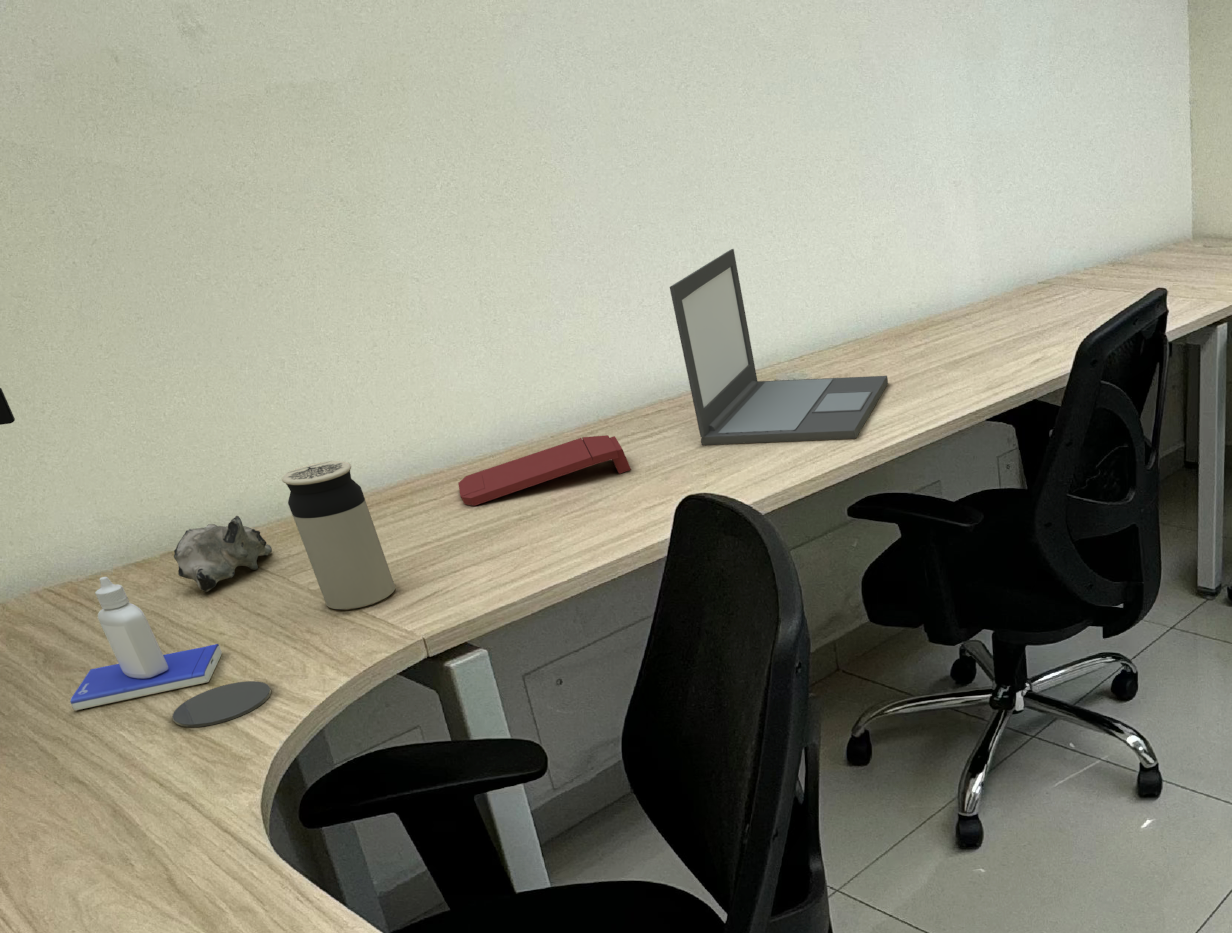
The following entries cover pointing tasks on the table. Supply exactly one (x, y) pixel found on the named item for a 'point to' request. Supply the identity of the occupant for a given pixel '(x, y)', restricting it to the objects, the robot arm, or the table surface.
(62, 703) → the table surface
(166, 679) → the hard drive
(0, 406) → the robot arm
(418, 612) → the table surface
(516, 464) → the red hooked bar
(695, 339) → the laptop
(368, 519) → the travel mug
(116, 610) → the eye dropper bottle
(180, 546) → the decorative stone
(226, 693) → the slate coaster
